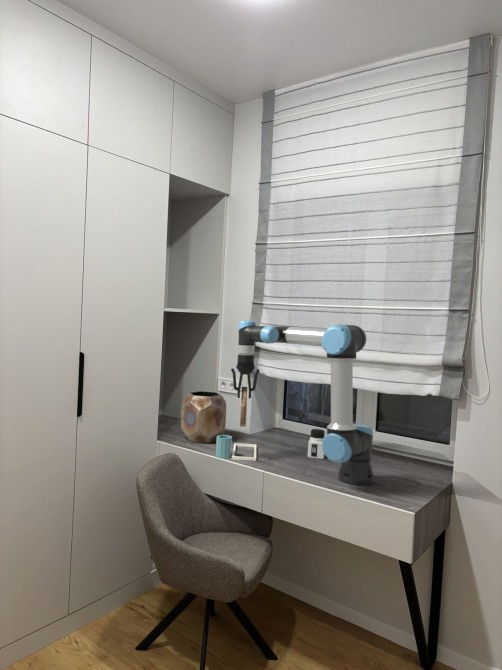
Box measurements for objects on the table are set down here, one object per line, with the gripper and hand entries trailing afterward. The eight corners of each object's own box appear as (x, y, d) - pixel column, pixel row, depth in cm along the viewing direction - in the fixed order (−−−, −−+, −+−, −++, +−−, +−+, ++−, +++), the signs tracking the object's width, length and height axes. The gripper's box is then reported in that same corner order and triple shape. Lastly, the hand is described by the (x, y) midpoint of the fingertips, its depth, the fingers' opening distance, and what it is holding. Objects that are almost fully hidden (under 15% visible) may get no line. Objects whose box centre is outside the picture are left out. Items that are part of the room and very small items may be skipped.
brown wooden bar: (245, 427, 234) (247, 387, 234) (240, 427, 234) (241, 387, 234) (245, 425, 240) (247, 386, 240) (240, 425, 240) (241, 386, 240)
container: (323, 459, 244) (325, 432, 244) (307, 457, 246) (309, 430, 245) (324, 455, 252) (326, 428, 251) (308, 453, 254) (310, 427, 253)
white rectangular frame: (255, 462, 232) (256, 458, 232) (231, 461, 233) (231, 456, 232) (256, 448, 256) (256, 444, 256) (234, 447, 257) (234, 443, 256)
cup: (230, 461, 233) (231, 439, 233) (214, 460, 233) (216, 438, 233) (231, 456, 240) (232, 435, 240) (216, 455, 240) (217, 434, 240)
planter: (174, 434, 275) (176, 390, 274) (217, 433, 285) (220, 390, 284) (186, 445, 255) (188, 398, 254) (232, 443, 264) (234, 397, 263)
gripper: (262, 354, 241) (260, 404, 242) (229, 353, 241) (227, 403, 242) (263, 355, 233) (260, 407, 234) (228, 354, 233) (226, 406, 234)
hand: (243, 405), depth 238 cm, fingers closed on brown wooden bar, 2 cm apart
